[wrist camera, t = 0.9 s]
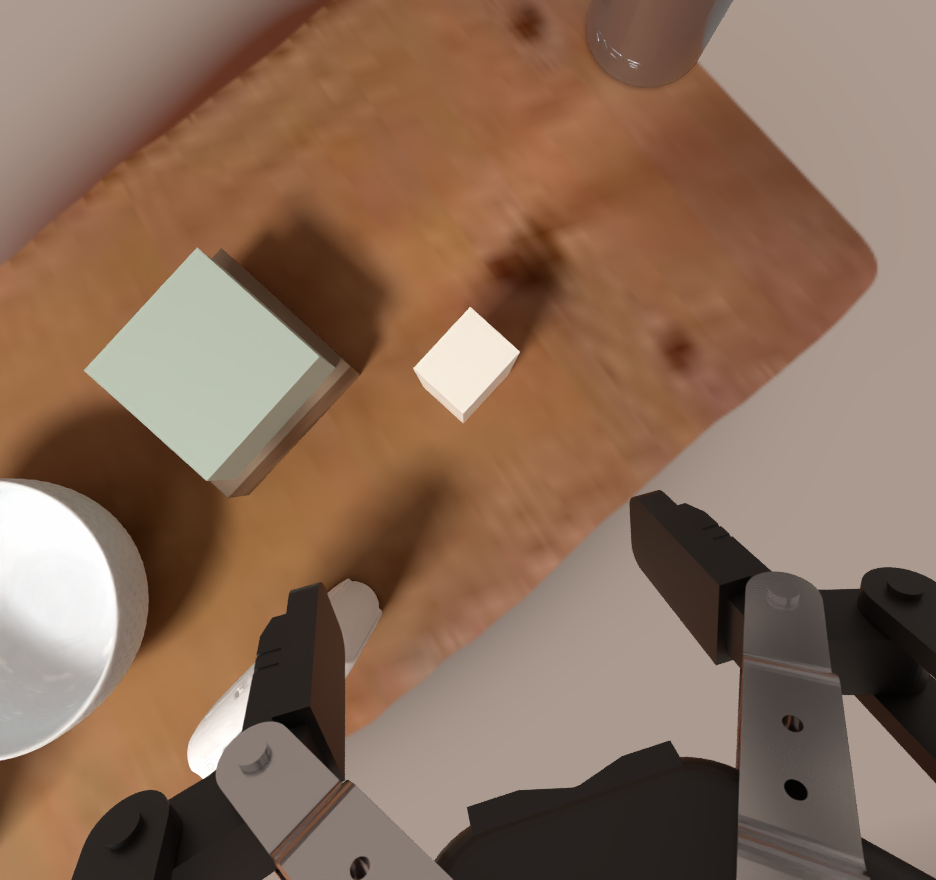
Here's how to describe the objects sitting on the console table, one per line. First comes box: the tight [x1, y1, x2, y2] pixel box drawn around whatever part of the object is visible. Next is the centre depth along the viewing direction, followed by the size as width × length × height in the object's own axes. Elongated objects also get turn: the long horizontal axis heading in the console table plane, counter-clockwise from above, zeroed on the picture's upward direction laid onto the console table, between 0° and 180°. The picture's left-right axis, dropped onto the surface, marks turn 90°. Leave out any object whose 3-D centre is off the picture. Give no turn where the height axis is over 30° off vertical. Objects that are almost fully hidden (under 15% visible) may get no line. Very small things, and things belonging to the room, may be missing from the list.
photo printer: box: [187, 579, 382, 779], centre depth 33 cm, size 10×4×12 cm, turn 136°
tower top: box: [84, 248, 335, 481], centre depth 34 cm, size 10×10×4 cm
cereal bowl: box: [0, 478, 149, 760], centre depth 36 cm, size 17×17×7 cm
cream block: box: [413, 307, 520, 423], centre depth 36 cm, size 5×4×8 cm
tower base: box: [210, 249, 360, 498], centre depth 38 cm, size 12×12×4 cm
